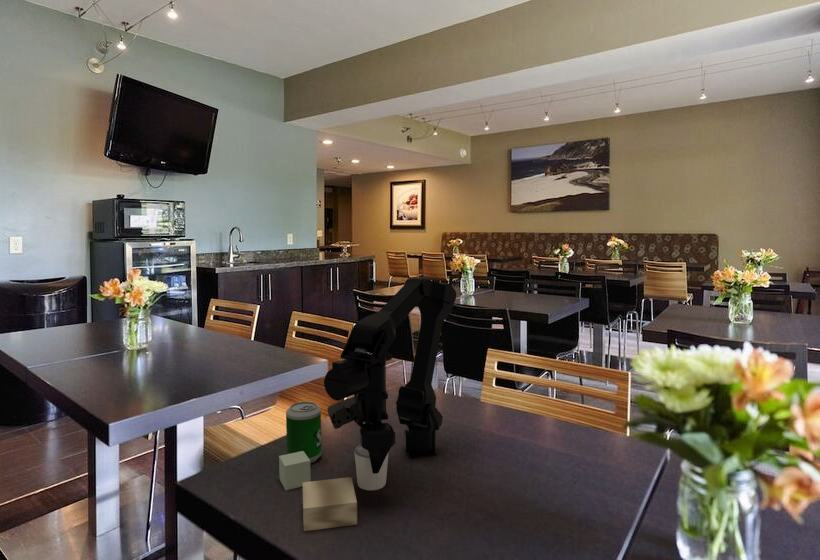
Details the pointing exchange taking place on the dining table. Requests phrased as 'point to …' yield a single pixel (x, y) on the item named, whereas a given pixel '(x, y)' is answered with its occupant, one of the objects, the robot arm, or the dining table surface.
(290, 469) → the sage cube
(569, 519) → the dining table surface
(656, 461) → the dining table surface
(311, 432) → the soda can
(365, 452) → the shot glass
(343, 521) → the maple block
